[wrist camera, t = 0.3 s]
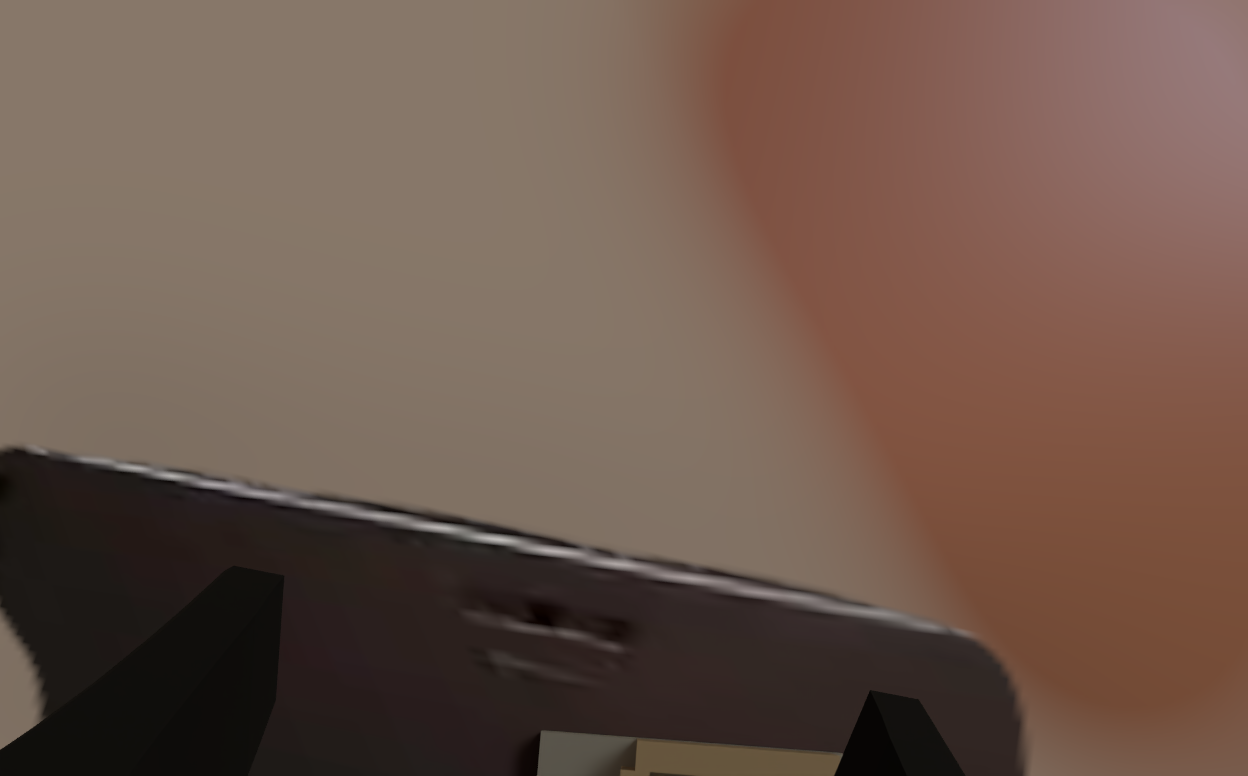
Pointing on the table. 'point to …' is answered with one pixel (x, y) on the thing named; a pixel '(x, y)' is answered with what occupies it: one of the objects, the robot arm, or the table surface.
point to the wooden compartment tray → (672, 758)
